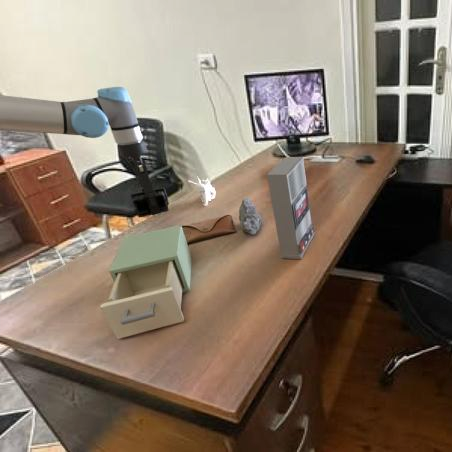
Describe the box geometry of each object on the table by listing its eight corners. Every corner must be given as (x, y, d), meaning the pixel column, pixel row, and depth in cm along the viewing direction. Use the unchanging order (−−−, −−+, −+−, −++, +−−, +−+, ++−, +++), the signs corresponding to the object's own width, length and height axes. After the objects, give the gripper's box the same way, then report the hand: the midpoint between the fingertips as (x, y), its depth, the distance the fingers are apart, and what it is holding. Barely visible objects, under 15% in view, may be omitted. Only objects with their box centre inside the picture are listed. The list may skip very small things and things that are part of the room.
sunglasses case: (179, 247, 107) (173, 226, 107) (181, 247, 114) (175, 228, 114) (237, 231, 113) (232, 211, 113) (236, 233, 120) (231, 214, 120)
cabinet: (189, 291, 89) (177, 255, 83) (126, 307, 85) (108, 271, 80) (191, 257, 103) (181, 224, 97) (137, 269, 99) (123, 237, 94)
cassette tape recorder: (302, 260, 97) (289, 175, 84) (281, 258, 98) (265, 174, 86) (315, 234, 108) (306, 156, 96) (296, 233, 110) (285, 156, 98)
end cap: (169, 203, 121) (163, 185, 118) (170, 210, 116) (164, 192, 112) (137, 210, 118) (131, 191, 115) (136, 218, 112) (129, 198, 109)
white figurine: (206, 206, 134) (199, 182, 129) (188, 206, 135) (181, 183, 131) (220, 193, 144) (215, 171, 139) (204, 193, 145) (198, 171, 141)
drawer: (183, 333, 74) (170, 301, 70) (113, 352, 71) (95, 320, 67) (186, 281, 91) (176, 252, 86) (130, 294, 88) (116, 266, 83)
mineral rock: (254, 240, 108) (247, 211, 103) (224, 237, 111) (216, 209, 107) (272, 220, 119) (267, 193, 114) (244, 218, 122) (238, 192, 117)
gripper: (149, 145, 100) (172, 216, 111) (138, 133, 115) (160, 197, 126) (120, 151, 96) (147, 224, 107) (113, 138, 112) (137, 203, 123)
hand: (154, 209), depth 117 cm, fingers closed on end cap, 8 cm apart
